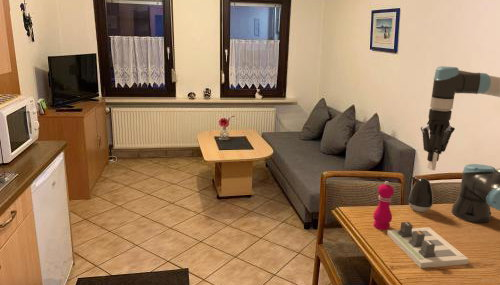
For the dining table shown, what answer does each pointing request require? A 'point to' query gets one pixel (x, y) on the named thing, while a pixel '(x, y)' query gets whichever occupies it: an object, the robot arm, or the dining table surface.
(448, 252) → the panel
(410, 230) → the breaker
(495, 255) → the dining table surface
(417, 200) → the black glossy egg shape
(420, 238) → the breaker
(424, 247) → the breaker
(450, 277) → the dining table surface
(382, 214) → the pepper mill
